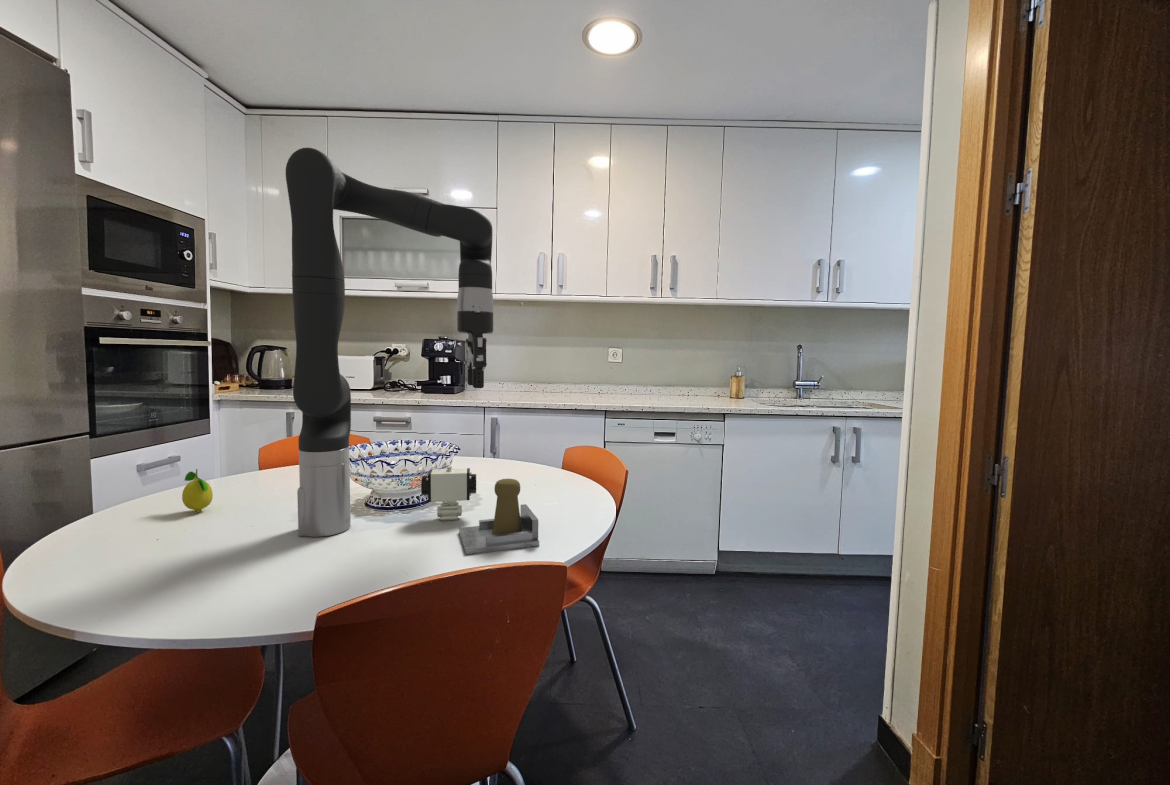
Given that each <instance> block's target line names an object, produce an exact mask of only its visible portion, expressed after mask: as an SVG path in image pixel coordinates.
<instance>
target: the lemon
mask: <svg viewBox="0 0 1170 785" xmlns="http://www.w3.org/2000/svg"><path fill="white" fill-rule="evenodd" d="M184 481H186V482H188V483H187V484H186V485H185V487H184V488H183V490H182V495H181V499H182V503H183V505H184V506H185V507H186V508H187V509H190V510H193V511H194V512H196V511H200V512H201V511H202V510H203V509H205V508H207V507H208V506H209V505H210V504H211V503H212V502H213V501H212V500H213V496H214V494H213V489H212V486H211V485H210V483H208V482H207V481H205V480H203V479H202V478H199V477H198V468H196V469H195V472H194V471H189V472H188V473H186V475H185V477H184Z"/></svg>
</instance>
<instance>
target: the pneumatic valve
mask: <svg viewBox="0 0 1170 785" xmlns="http://www.w3.org/2000/svg"><path fill="white" fill-rule="evenodd" d="M420 484H421V485H420V488H421V490H420V491H421V496H423V497H424V496H426V499H427V502H428V503H435V502H437V503H438V502H442V503H440V504H439V505H438V506H437V508H436V514H437V516H436V517H437V518H439V520H440V521H441V522H445V521H446V522H447V521H457V520H459V517H461V516H462V514H463V506H462V505H461V504H460V503H459V501H462V502H463V501H470V500H471V496H472V495H473V494H474V495H475V494H477V474H476V473H472V472H471V468H470V467H467V468H466V467H465V468H453V467H452V465H450V466H449V465H447V468H433V469H432V468H431V469H429V471H428V473H427V475H422V477H421V482H420ZM459 504H460V505H459Z"/></svg>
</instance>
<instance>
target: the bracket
mask: <svg viewBox="0 0 1170 785" xmlns="http://www.w3.org/2000/svg"><path fill="white" fill-rule="evenodd" d="M520 520H521V528H522V532H514V533H505V534H496V535H492V532H493V525H494V518H487V519H479V520H478V525H475V526H466V527H465V526H464V527H458V534H459V537H460V540H461V543H463V544H462V546H464V547H463V549H465V550H464V553H465V552H466V553H465V555H466V554H468V555H474V554H473V553H477V554H482V553H481V552H485V553H490V552H489V551H493V552H499V551H498V550H502V551H507V550H506V549H510V550H516V549H515V548H518V549H524V548H523V547H527V548H531V547H530V546H535V547H540V540H539V518H538V517H537V516H536V515H535V513H534V512H533V511H532V509H530V507H529V506H528V505H527V504H524V503H523V504H520Z"/></svg>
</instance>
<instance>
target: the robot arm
mask: <svg viewBox="0 0 1170 785" xmlns="http://www.w3.org/2000/svg"><path fill="white" fill-rule="evenodd" d="M285 181H286V188H287V193H288V194H287V195H288V203H289V210H290V217H291V265H292V266H291V283H292V284H291V286H292V287H291V291H292V306H293V323H294V333H295V349H296V350H295V363H294V364H295V365H294V374H293V375H294V376H293V386H292V397H293V400H294V401H293V402H294V403H295V405H296V406H297V408H298V409H299V410H300V411H301V413H302V425H301V430H300V432H299V435H298V472H299V487H298V488H297V492H296V493H297V496H296V497H297V526H298V527H297V528H298V530H297V531H298V532H297V533H298V537H303V536H304V537H313V538H318V537H319V538H320V537H328V536H333V535H337V534H340V533H343V532H346V531H347V530H349V529H350V528H351V517H352V516H351V482H350V481H351V473H350V469H351V467H350V435H351V430H352V429H351V427H352V424H351V423H352V422H351V420H352V408H351V407H352V396H351V394H352V393H351V386H350V384H349V382H348V380H347V379H346V377H344V376H343V375H342V374H341V373H340V366H339V365H340V364H339V340H340V334H341V331H342V330H341V329H342V325H343V320H344V316H345V315H344V314H345V308H346V307H345V306H346V290H345V289H346V288H345V287H346V285H345V272H344V265H343V260H342V256H341V253H340V249H339V248H340V247H339V246H338V242H337V238H336V233H335V229H334V228H335V227H334V210H335V211H342V212H347V213H348V212H349V213H353V214H358V215H364V216H368V217H371V218H375V219H378V220H382V221H385V222H388V223H391V224H394V225H396V226H401V227H403V228H407V229H410V230H413V231H416V232H418V233H422V234H424V235H428V236H431V237H437V238H438V237H440V238H441V237H445V238H449V239H453V240H457V241H459V252H460V253H459V255H460V257H459V258H460V263H459V265H458V290H457V291H458V292H457V293H458V294H457V299H456V301H457V302H456V304H457V305H456V306H457V311H456V312H457V314H456V318H457V319H456V320H457V321H456V323H457V324H456V325H457V326H456V327H457V332H458V333H460V334H467V335H468V338H465V341H464V349H465V354H464V355H465V356H464V358H465V362H464V363H465V366H466V369H467V385H468V386H472V388H474V389H483V388H484V386H485V383H484V382H485V369H486V368H487V365H488V363H487V337H484V336H483V335H484V334H485V335H486V334H489V335H490V334H492V333H494V295H493V269H492V254H493V225H492V222H491V220H490V218H489V217H488V216H487V215H486V214H484V213H483V212H481V211H478V210H475V209H473V208H469V207H465V206H461V205H460V206H459V205H456V204H455V205H454V204H448V203H444V202H440V201H437V200H435V199H432V198H430V197H425V196H423V195H420V194H417V193H413V192H409V191H405V190H400V189H392V188H391V189H389V188H385V187H380V186H375V185H371V184H368V183H365V182H363V181H361V180H359V179H356V178H354V177H352V176H350V175H348V174H347V173H344V172H342V171H341V170H340V168H339V166H337V165H336V164H335V163H334V162H333V160H332V159H331V158H330V157H329V156H328V155H326V154H325V153H323V152H322V151H320V150H318V149H316V148H313V147H302V148H299V149H297V150H295V151H294V152H293V153H292V154H291V155H290V156H289V158H288V159H287V162H286V166H285Z"/></svg>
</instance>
